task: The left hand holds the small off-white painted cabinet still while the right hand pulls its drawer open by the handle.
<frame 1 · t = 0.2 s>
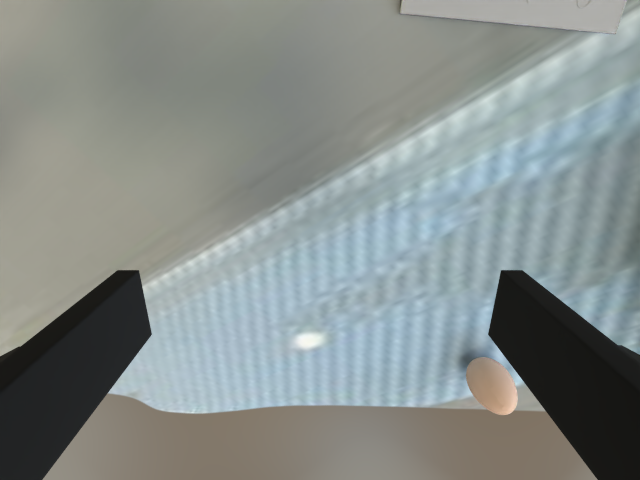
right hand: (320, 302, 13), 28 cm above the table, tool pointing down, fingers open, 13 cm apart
egg: (476, 361, 48), on the table
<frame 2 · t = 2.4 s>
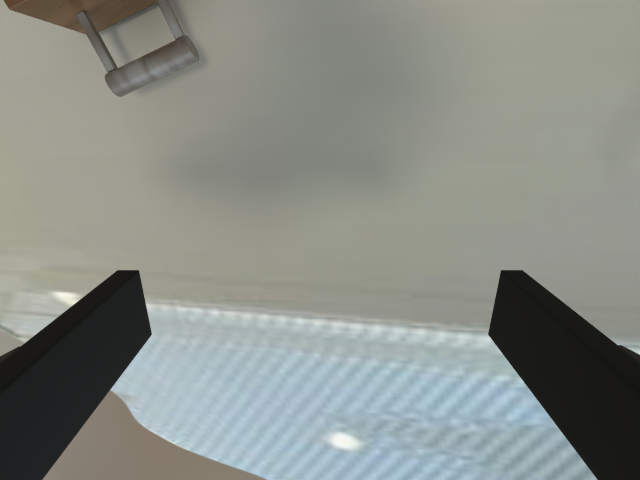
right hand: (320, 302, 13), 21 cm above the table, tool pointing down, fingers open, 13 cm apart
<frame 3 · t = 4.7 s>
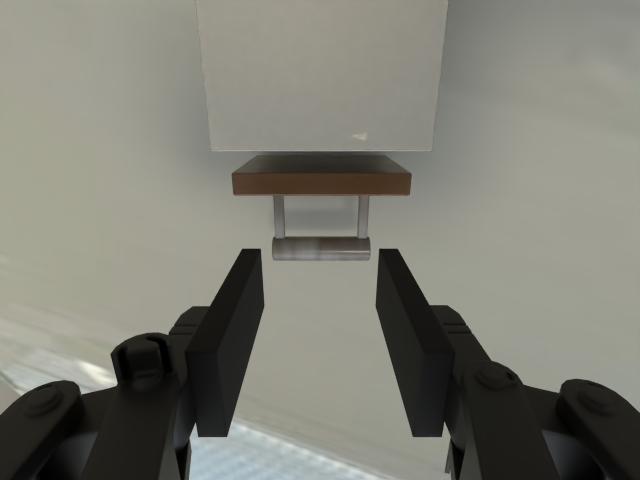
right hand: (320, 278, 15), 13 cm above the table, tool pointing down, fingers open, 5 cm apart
drawer: (321, 96, 20), point 5 cm above the table, slide at 1.2 cm
cabinet: (321, 3, 23), on the table, touching left hand
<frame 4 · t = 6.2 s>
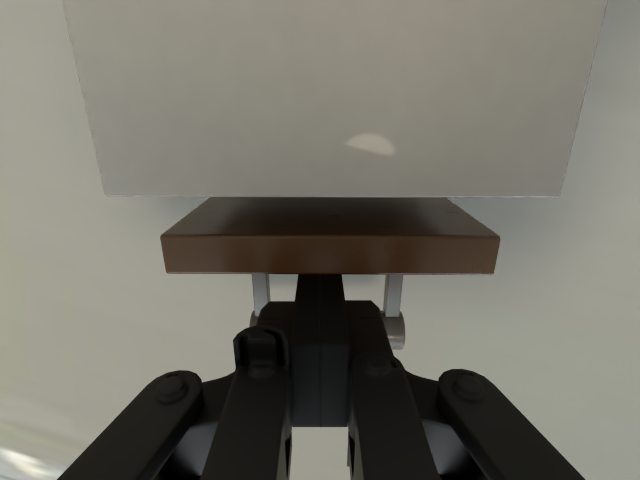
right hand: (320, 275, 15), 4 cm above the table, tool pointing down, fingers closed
drawer: (328, 90, 12), point 5 cm above the table, slide at 1.3 cm
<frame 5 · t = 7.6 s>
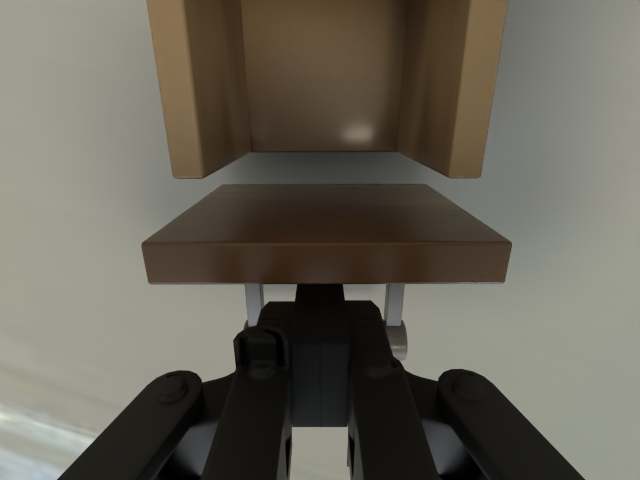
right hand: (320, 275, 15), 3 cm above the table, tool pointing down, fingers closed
drawer: (324, 86, 11), point 5 cm above the table, slide at 7.7 cm, touching right hand
when the left hand's fingers open (5 cm above the table, at t = 9.5 s): cabinet stays where it is, on the table.
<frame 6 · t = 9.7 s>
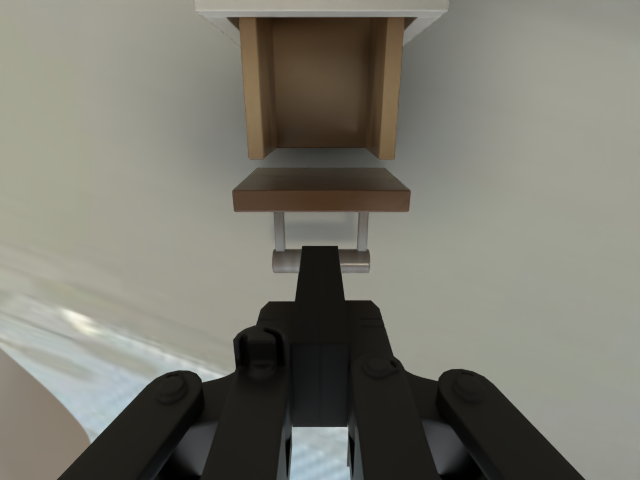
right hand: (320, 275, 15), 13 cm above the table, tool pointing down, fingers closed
drawer: (321, 112, 20), point 5 cm above the table, slide at 7.7 cm
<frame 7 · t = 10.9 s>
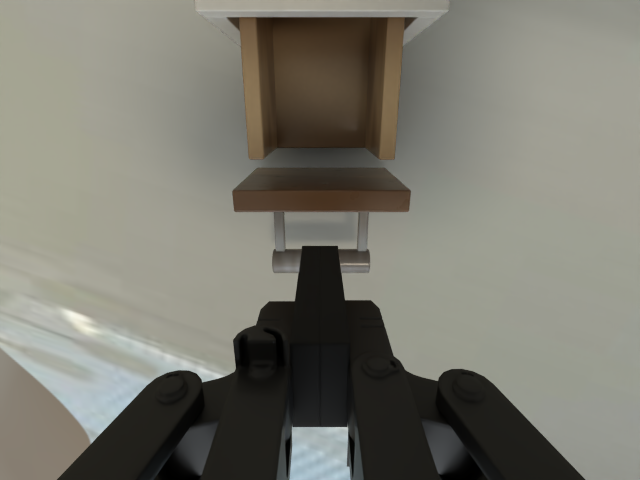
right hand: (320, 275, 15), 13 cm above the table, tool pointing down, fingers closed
drawer: (321, 112, 20), point 5 cm above the table, slide at 7.7 cm
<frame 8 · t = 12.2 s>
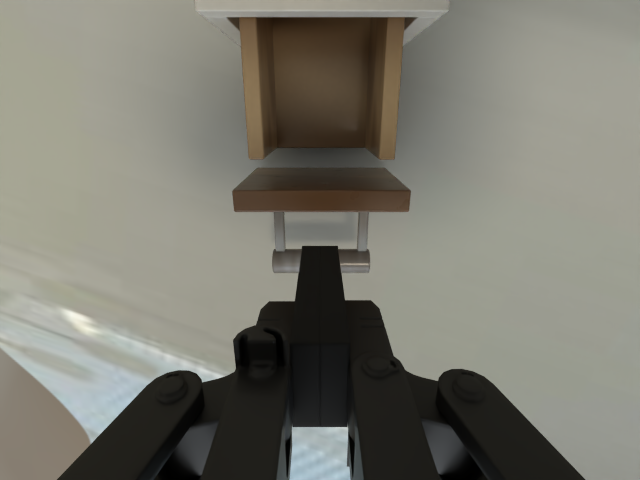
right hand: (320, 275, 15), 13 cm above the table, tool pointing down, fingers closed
drawer: (321, 112, 20), point 5 cm above the table, slide at 7.7 cm
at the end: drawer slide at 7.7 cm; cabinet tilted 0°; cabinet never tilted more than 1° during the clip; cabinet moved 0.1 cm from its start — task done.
